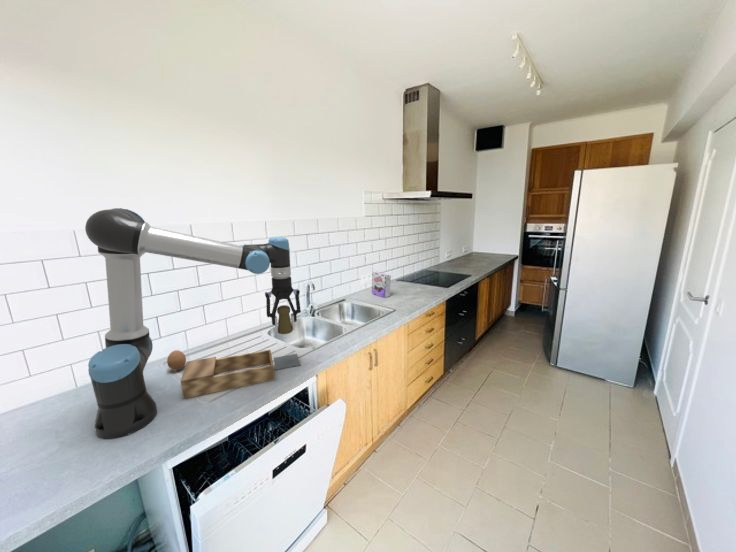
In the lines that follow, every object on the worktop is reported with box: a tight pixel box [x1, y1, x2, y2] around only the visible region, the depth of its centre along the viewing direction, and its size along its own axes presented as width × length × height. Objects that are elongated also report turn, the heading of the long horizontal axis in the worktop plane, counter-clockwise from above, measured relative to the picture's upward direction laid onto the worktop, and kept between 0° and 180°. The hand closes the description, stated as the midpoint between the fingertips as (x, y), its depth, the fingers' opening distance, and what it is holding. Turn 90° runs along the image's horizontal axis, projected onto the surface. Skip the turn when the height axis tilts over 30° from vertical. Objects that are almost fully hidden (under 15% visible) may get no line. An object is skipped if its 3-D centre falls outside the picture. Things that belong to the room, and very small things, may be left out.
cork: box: [276, 304, 294, 335], centre depth 123 cm, size 6×6×11 cm
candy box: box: [371, 271, 392, 299], centre depth 217 cm, size 14×6×16 cm, turn 43°
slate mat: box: [273, 353, 302, 371], centre depth 128 cm, size 10×10×1 cm
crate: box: [180, 349, 276, 399], centre depth 115 cm, size 31×14×7 cm, turn 113°
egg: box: [166, 349, 187, 371], centre depth 121 cm, size 6×6×8 cm
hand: (285, 330), depth 124 cm, fingers closed on cork, 6 cm apart
